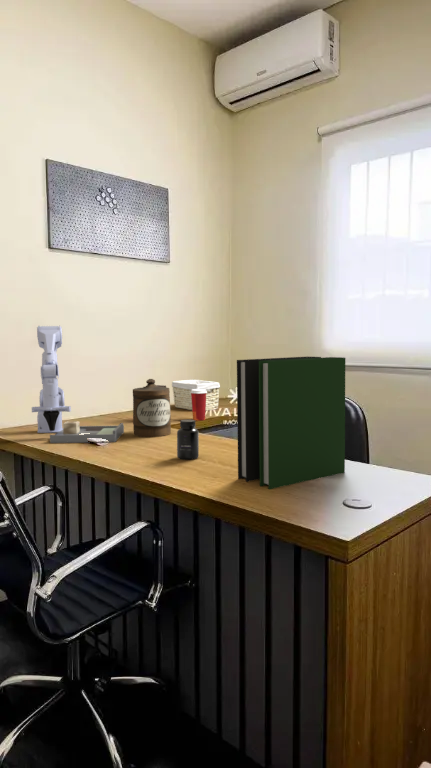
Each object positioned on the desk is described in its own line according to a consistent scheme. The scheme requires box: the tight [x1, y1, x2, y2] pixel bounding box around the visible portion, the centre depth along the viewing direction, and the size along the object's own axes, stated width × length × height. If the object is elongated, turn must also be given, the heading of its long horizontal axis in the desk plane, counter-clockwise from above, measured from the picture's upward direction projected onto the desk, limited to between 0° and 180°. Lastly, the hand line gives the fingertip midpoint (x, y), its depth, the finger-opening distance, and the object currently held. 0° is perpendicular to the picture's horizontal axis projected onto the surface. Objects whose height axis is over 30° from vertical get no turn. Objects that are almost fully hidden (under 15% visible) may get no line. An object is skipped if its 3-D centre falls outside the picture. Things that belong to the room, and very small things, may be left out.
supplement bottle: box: [176, 419, 200, 461], centre depth 168 cm, size 7×7×12 cm
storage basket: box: [171, 379, 221, 411], centre depth 285 cm, size 24×16×15 cm
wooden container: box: [132, 378, 172, 438], centre depth 211 cm, size 15×15×22 cm
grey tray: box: [49, 422, 125, 444], centre depth 206 cm, size 24×20×4 cm
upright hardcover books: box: [236, 356, 346, 490], centre depth 145 cm, size 27×15×32 cm, turn 126°
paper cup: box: [190, 389, 207, 422], centre depth 246 cm, size 8×8×14 cm
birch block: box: [62, 420, 81, 434], centre depth 206 cm, size 5×5×4 cm
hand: (52, 430), depth 206 cm, fingers closed
